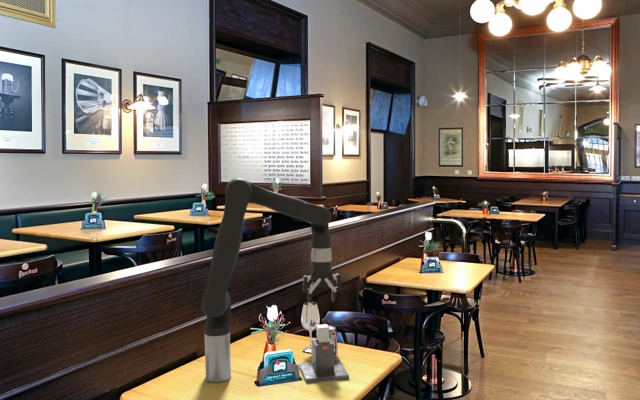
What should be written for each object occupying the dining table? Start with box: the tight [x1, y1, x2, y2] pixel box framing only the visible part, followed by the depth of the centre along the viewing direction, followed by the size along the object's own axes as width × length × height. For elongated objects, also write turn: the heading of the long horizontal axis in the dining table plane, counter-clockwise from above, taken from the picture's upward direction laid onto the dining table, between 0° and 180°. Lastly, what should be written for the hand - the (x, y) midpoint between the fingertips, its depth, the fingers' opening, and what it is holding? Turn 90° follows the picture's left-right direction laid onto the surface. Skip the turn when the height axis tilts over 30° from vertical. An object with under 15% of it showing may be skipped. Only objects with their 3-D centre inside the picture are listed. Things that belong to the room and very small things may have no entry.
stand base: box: [298, 338, 350, 384], centre depth 216 cm, size 16×16×12 cm
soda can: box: [328, 325, 338, 358], centre depth 234 cm, size 7×7×12 cm
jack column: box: [315, 323, 329, 344], centre depth 216 cm, size 4×4×16 cm
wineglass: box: [300, 301, 321, 354], centre depth 241 cm, size 8×8×20 cm
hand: (322, 302), depth 215 cm, fingers open, 8 cm apart
